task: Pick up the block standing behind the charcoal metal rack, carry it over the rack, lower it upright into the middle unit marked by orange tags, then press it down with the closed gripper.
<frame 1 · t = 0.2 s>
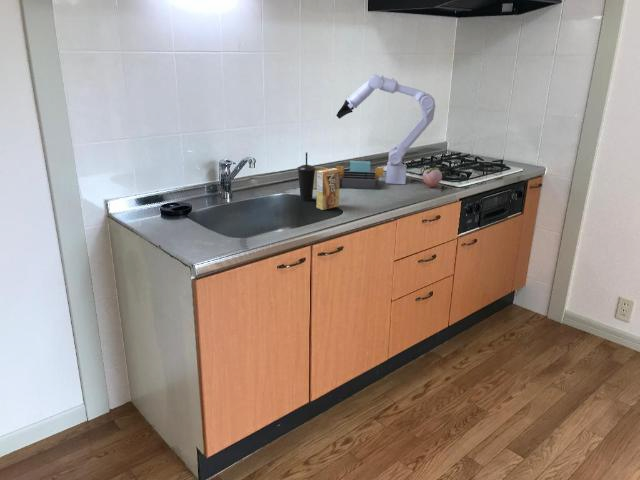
hand: (338, 115, 243), 31 cm above the worktop, tool tilted 45°, fingers open, 7 cm apart
flower pot: (318, 188, 238), on the worktop
rack: (358, 184, 245), on the worktop
drinking cup: (306, 199, 220), on the worktop
decorative fruit: (430, 187, 242), on the worktop
candy box: (327, 207, 210), on the worktop
block: (359, 177, 258), on the worktop
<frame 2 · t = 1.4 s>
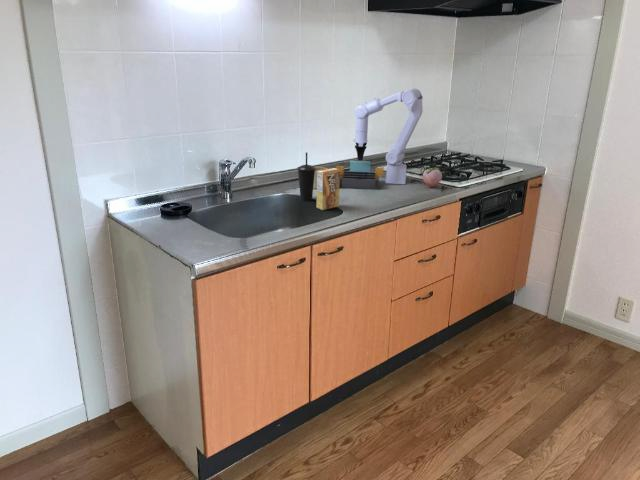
hand: (360, 158, 255), 9 cm above the worktop, tool pointing down, fingers open, 7 cm apart
nothing on the worktop moved.
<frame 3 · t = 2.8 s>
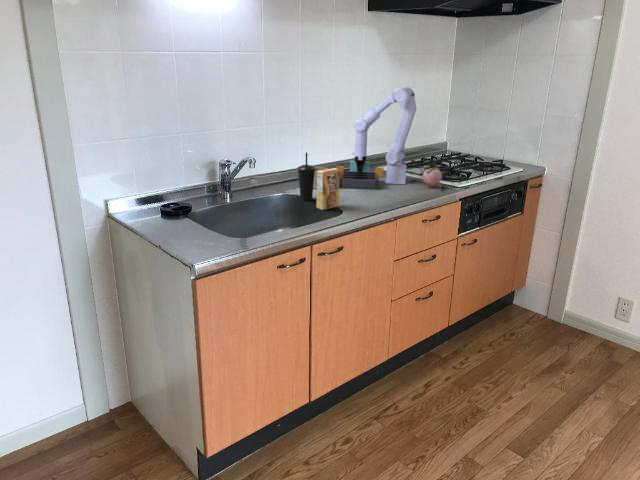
hand: (359, 171, 257), 3 cm above the worktop, tool pointing down, fingers closed on block, 2 cm apart
block: (359, 177, 258), on the worktop, touching gripper
everything else where it was.
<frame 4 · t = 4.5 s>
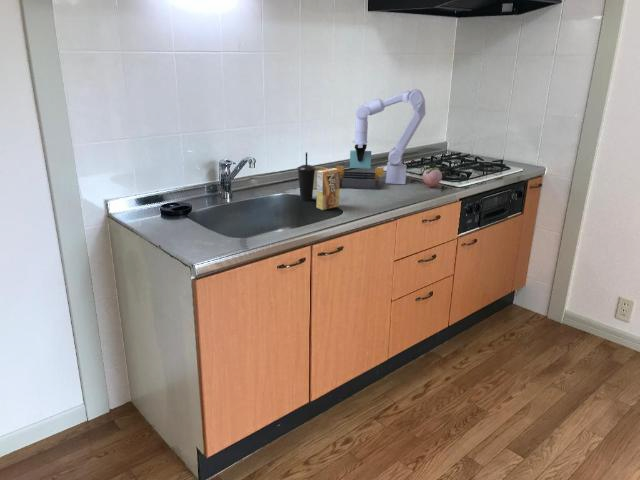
hand: (360, 160, 249), 10 cm above the worktop, tool pointing down, fingers closed on block, 2 cm apart
block: (360, 167, 250), point 6 cm above the worktop, touching gripper
everything else where it was.
when the fingers open (5 cm above the worktop, at t = 6.6 s): block stays where it is, resting on rack.
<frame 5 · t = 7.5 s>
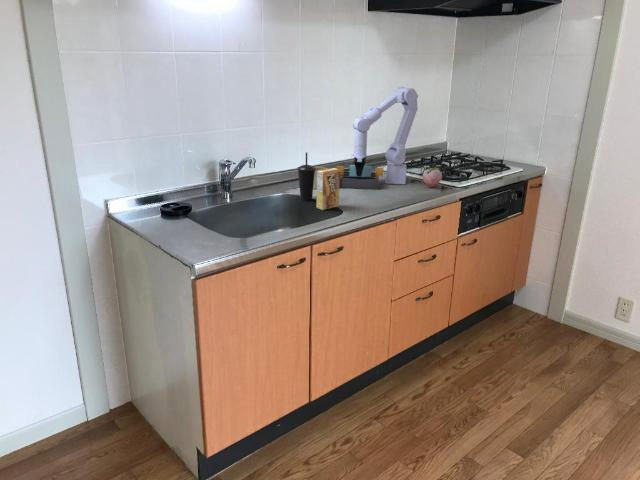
hand: (359, 174, 243), 5 cm above the worktop, tool pointing down, fingers open, 7 cm apart
block: (359, 182, 244), point 1 cm above the worktop, touching rack
everything else where it was.
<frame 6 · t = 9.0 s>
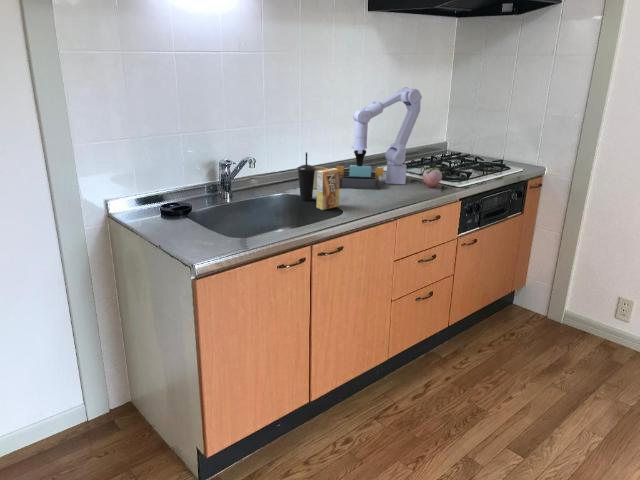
hand: (359, 166, 241), 9 cm above the worktop, tool pointing down, fingers closed, pressing on block
block: (359, 182, 244), point 1 cm above the worktop, touching gripper, rack
everything else where it was.
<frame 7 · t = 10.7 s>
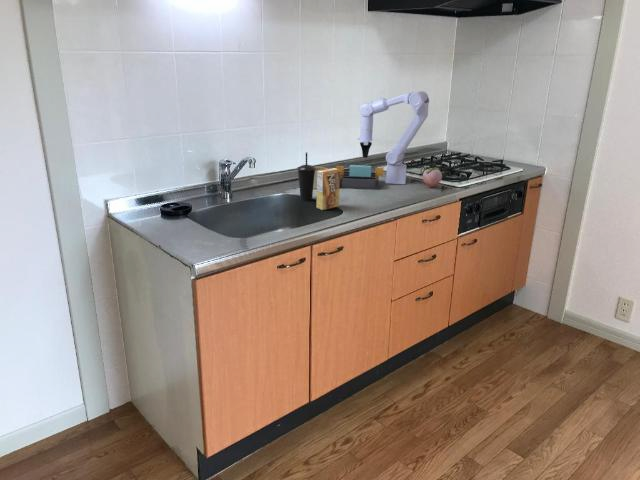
hand: (365, 157, 253), 10 cm above the worktop, tool pointing down, fingers closed
block: (359, 182, 244), point 1 cm above the worktop, touching rack
everything else where it was.
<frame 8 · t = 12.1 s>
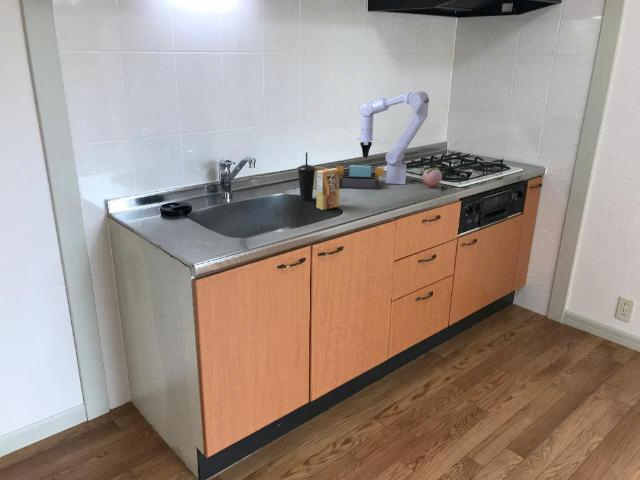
hand: (365, 157, 254), 10 cm above the worktop, tool pointing down, fingers closed
nothing on the worktop moved.
at the end: block 0.4 cm off-centre on the rack, point 1.0 cm above the rack's base; block tilted 0°; the gripper is holding nothing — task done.
